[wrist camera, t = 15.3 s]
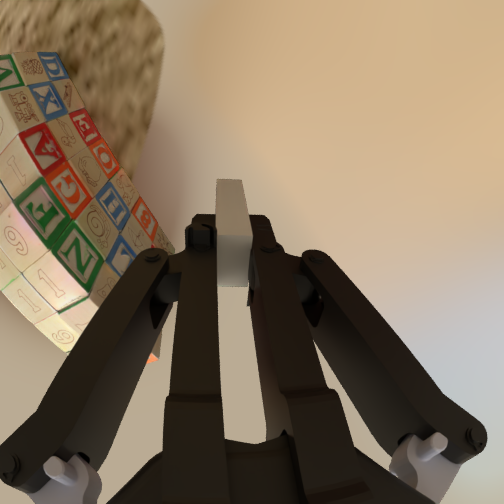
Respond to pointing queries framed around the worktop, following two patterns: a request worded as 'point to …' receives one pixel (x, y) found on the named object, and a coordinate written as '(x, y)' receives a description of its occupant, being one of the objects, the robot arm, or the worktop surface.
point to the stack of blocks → (62, 203)
